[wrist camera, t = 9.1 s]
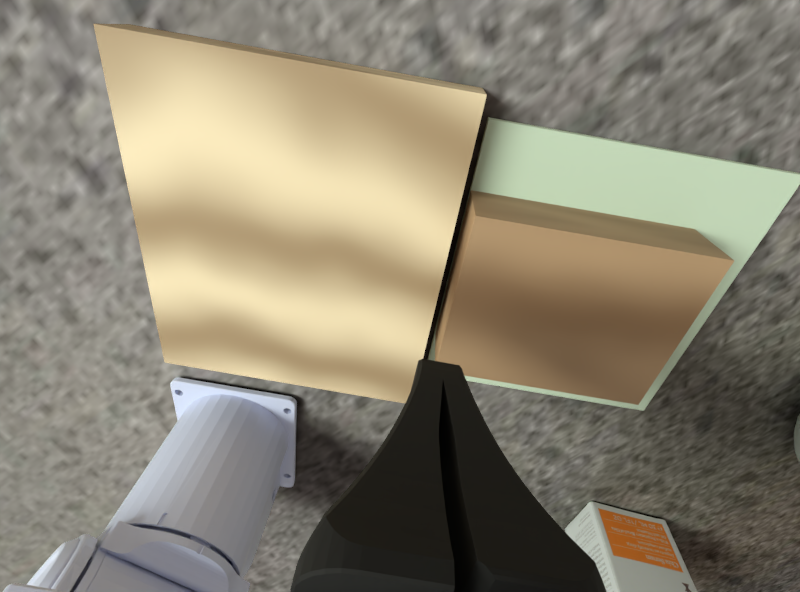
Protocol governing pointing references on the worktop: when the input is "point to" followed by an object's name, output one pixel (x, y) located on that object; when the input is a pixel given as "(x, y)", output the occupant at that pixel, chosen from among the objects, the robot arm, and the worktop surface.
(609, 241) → the walnut tile
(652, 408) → the worktop surface
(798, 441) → the air freshener
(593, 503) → the skincare box
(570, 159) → the sage mat
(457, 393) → the robot arm
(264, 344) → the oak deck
